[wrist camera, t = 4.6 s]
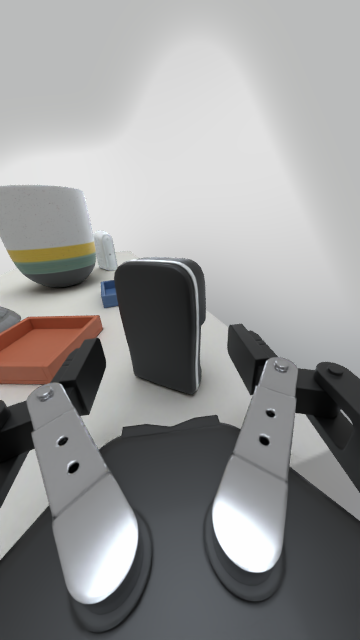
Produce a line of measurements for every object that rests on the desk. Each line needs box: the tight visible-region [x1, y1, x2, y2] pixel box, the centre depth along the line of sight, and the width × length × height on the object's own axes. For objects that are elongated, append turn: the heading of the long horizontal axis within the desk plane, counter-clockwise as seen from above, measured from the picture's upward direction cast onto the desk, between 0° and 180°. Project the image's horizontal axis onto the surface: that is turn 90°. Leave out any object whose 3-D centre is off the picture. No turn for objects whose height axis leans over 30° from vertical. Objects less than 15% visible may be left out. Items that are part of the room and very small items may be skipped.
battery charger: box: [114, 257, 206, 394], centre depth 17 cm, size 7×4×11 cm, turn 64°
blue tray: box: [101, 280, 119, 308], centre depth 43 cm, size 11×11×2 cm
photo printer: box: [93, 231, 118, 271], centre depth 68 cm, size 10×4×12 cm, turn 39°
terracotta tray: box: [0, 315, 103, 384], centre depth 25 cm, size 11×11×2 cm
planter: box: [0, 185, 96, 287], centre depth 49 cm, size 20×20×21 cm
